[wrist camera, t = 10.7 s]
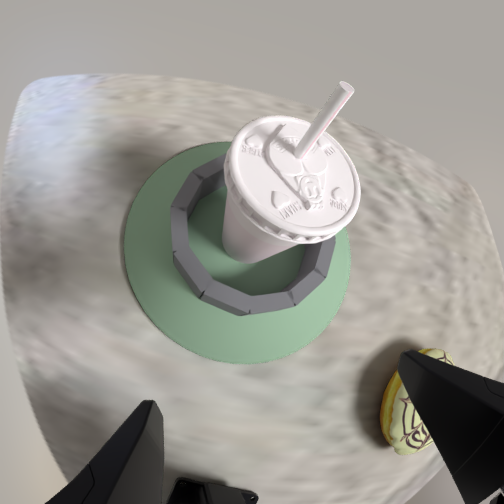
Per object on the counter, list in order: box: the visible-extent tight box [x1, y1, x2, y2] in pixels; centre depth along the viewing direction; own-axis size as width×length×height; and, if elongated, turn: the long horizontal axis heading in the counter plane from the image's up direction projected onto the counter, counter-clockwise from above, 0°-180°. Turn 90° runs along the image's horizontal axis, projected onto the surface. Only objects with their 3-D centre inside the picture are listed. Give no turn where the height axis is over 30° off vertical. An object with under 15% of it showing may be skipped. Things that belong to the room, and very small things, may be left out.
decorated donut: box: [380, 348, 455, 455], centre depth 19 cm, size 10×11×4 cm
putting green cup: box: [124, 142, 351, 364], centre depth 19 cm, size 18×18×3 cm
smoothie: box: [222, 82, 360, 264], centre depth 14 cm, size 6×6×14 cm
